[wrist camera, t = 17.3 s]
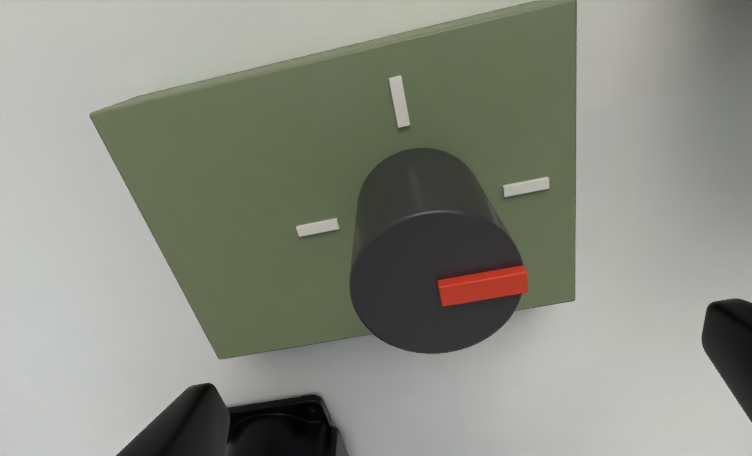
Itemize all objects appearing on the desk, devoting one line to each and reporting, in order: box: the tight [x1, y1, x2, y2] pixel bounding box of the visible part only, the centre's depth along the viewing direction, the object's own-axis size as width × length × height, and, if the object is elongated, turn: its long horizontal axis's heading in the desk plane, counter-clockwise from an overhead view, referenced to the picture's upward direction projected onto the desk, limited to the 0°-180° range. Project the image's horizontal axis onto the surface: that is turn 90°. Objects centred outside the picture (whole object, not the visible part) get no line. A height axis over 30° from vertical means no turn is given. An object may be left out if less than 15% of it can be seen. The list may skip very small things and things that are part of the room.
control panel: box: [90, 0, 577, 359], centre depth 15 cm, size 14×10×3 cm
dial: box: [349, 148, 528, 354], centre depth 11 cm, size 4×4×5 cm
